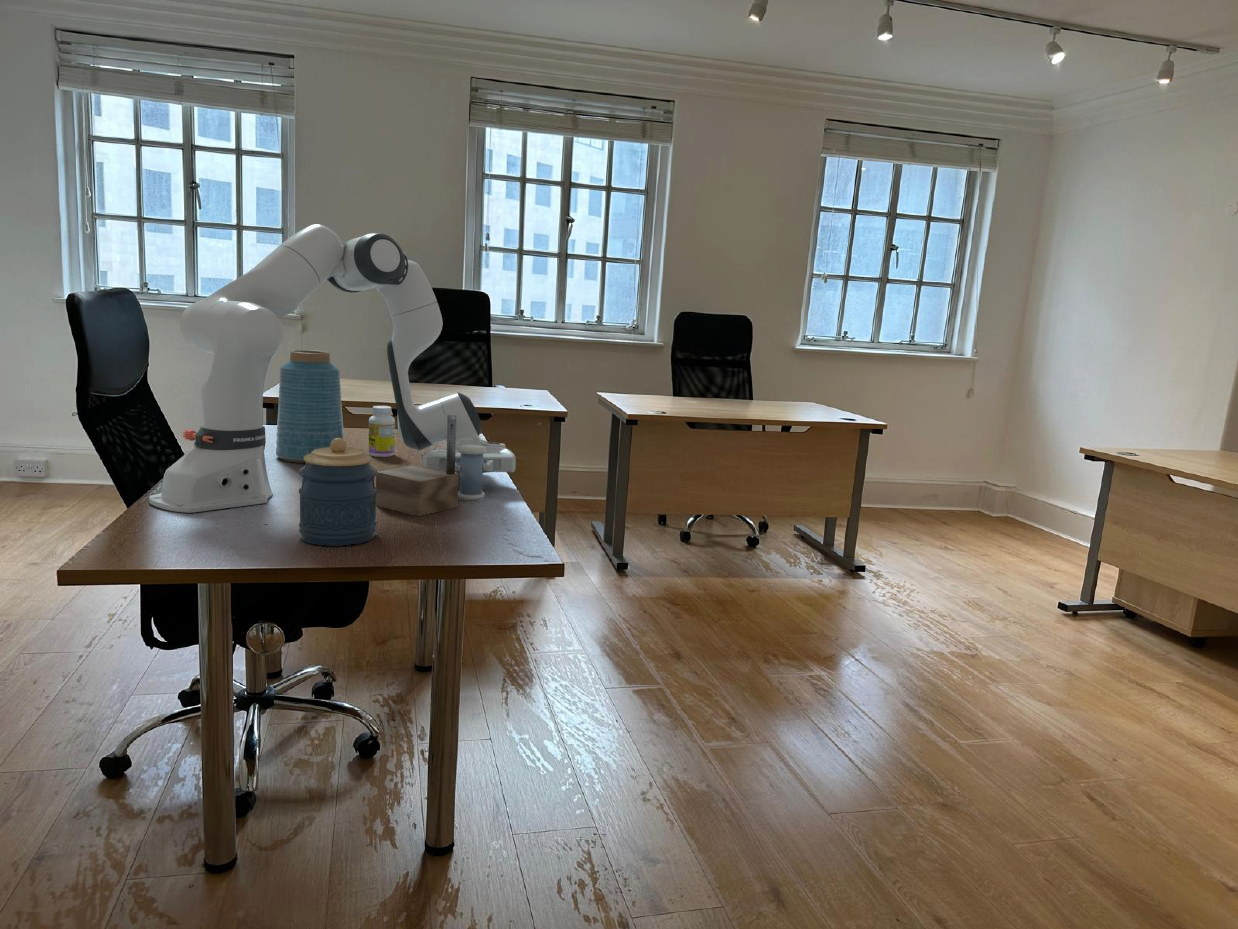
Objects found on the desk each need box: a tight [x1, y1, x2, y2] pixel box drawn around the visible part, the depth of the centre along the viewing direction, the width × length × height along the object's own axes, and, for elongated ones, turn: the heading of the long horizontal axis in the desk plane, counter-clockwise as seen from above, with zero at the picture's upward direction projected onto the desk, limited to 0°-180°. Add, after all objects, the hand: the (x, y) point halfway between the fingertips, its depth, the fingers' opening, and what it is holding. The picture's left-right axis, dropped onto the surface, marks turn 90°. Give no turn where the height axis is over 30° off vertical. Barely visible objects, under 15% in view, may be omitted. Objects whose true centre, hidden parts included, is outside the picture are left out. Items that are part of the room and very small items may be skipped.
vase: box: [275, 349, 345, 464], centre depth 210 cm, size 16×16×27 cm
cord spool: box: [458, 445, 486, 501], centre depth 182 cm, size 6×6×11 cm
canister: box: [297, 438, 378, 547], centre depth 147 cm, size 13×13×18 cm
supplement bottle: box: [368, 405, 396, 458], centre depth 221 cm, size 7×7×13 cm
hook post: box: [446, 415, 456, 475], centre depth 169 cm, size 2×6×12 cm, turn 14°
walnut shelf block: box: [375, 464, 460, 517], centre depth 172 cm, size 11×12×7 cm
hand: (471, 468), depth 181 cm, fingers closed on cord spool, 5 cm apart
